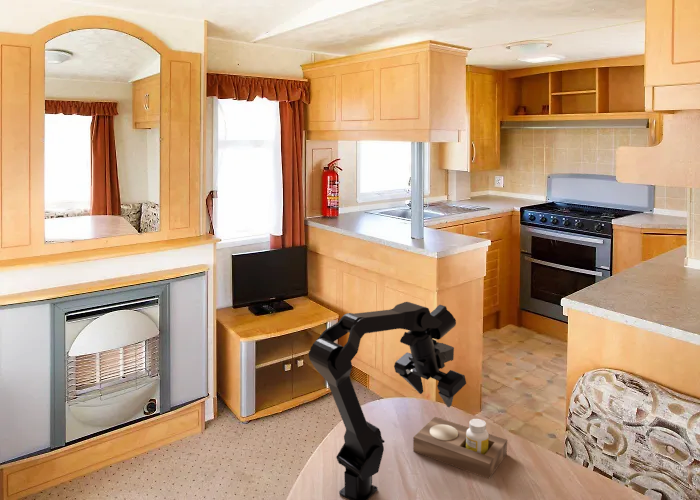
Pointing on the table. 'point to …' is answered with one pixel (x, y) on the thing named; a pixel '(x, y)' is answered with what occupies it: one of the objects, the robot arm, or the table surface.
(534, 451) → the table surface
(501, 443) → the pocket block
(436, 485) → the table surface
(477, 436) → the supplement bottle
